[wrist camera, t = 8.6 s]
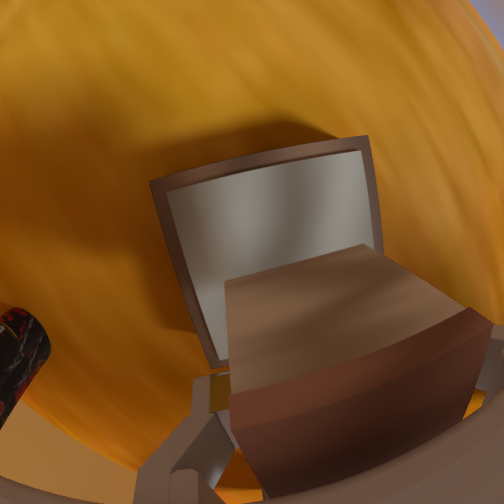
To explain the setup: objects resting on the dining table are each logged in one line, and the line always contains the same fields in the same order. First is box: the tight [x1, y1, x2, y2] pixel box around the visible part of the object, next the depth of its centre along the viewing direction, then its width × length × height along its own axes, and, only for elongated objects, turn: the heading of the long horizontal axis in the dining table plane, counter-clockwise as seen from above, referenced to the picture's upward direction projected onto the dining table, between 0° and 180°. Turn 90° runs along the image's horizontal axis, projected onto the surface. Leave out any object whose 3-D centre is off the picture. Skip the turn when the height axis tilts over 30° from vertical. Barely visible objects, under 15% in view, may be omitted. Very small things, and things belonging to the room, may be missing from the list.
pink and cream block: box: [224, 243, 494, 499], centre depth 7 cm, size 5×5×6 cm
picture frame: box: [149, 135, 384, 369], centre depth 18 cm, size 12×12×4 cm
